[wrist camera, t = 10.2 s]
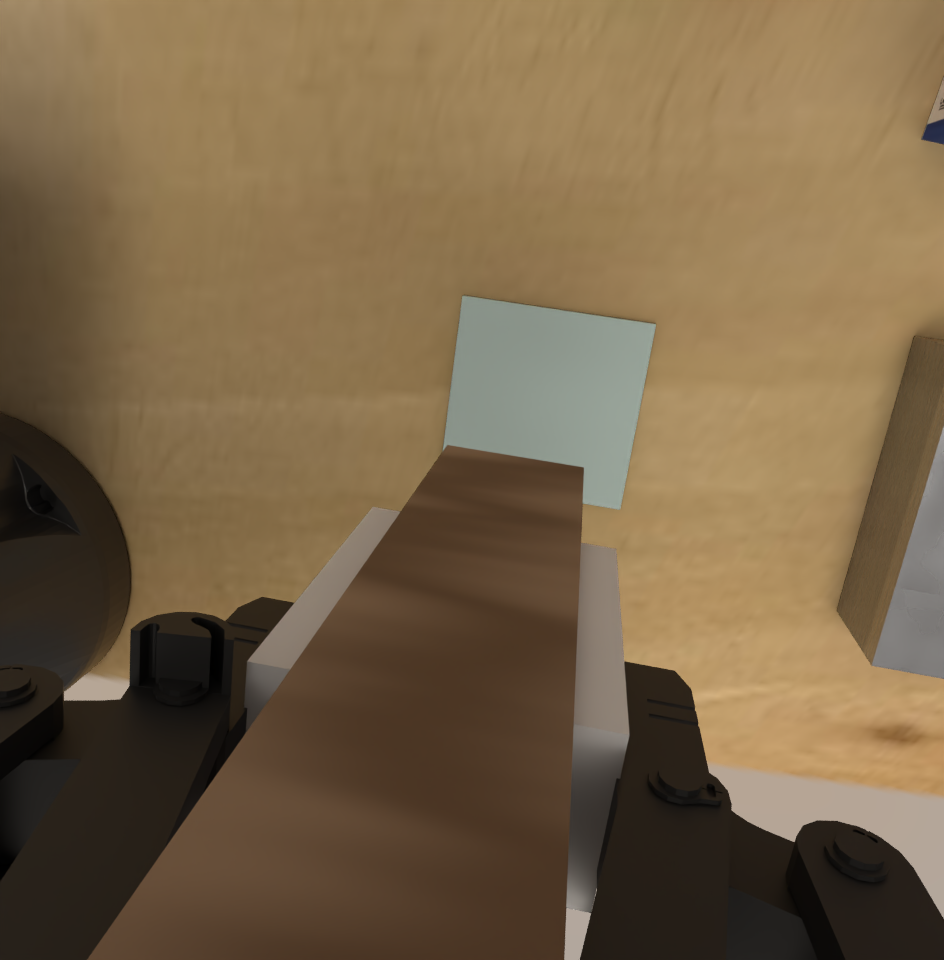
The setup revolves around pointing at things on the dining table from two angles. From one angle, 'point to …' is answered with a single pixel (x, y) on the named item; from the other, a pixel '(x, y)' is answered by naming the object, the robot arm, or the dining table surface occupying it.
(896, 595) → the box
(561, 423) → the pad
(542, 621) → the brown wooden bar
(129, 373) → the dining table surface
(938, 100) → the beverage box
